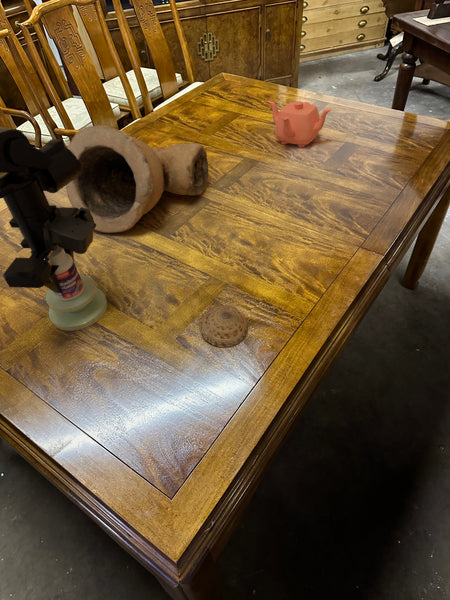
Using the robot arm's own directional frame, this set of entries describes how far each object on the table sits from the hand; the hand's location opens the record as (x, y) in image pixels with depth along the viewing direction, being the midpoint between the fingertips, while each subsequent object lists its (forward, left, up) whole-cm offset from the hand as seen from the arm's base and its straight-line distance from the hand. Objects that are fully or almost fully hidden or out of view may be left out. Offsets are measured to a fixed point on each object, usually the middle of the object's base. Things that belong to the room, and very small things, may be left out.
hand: (65, 281), depth 76 cm
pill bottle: (0, 0, -3) cm, 3 cm away
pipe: (+3, +39, -8) cm, 40 cm away
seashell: (+29, -3, -8) cm, 30 cm away
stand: (0, 0, -8) cm, 8 cm away
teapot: (+40, +71, -8) cm, 82 cm away
